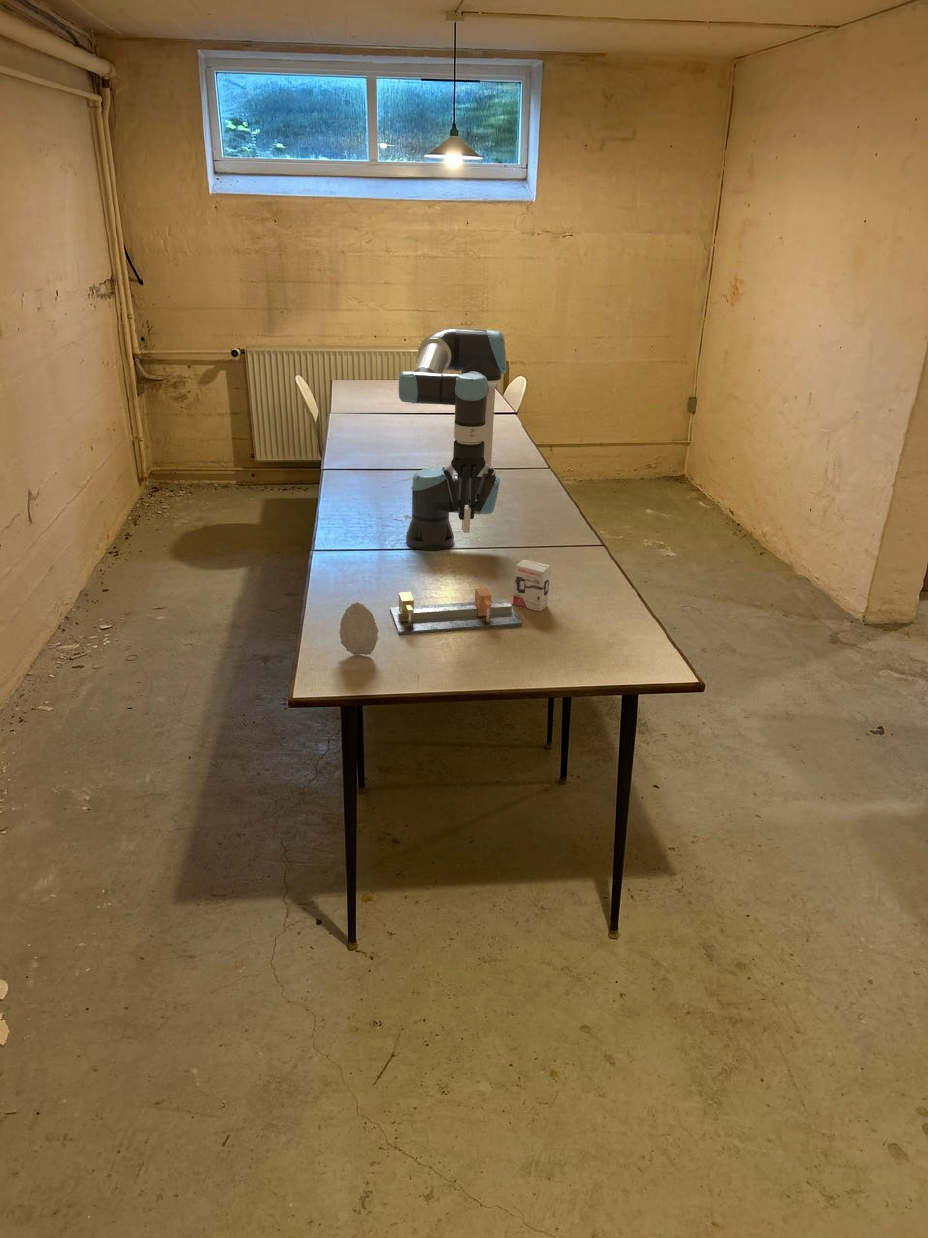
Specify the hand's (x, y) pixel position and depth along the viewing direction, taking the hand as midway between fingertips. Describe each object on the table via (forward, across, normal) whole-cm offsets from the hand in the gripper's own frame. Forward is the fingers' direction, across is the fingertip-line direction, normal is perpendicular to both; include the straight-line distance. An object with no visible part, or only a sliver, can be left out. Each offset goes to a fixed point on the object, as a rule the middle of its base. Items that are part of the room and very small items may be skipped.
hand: (465, 530), depth 217 cm
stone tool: (+22, -30, -22) cm, 43 cm away
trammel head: (+21, +4, -8) cm, 22 cm away
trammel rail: (+21, -3, -8) cm, 23 cm away
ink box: (+23, +19, -1) cm, 29 cm away
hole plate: (+22, -3, -6) cm, 23 cm away
